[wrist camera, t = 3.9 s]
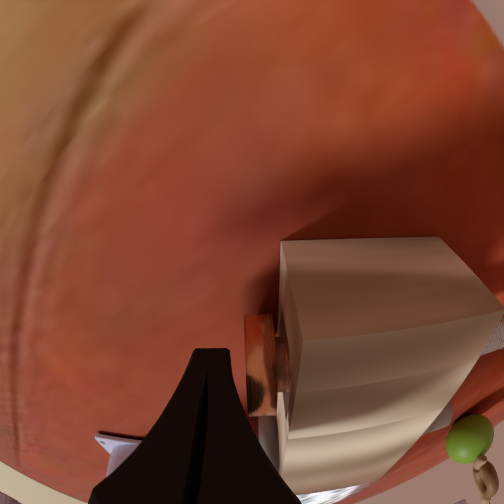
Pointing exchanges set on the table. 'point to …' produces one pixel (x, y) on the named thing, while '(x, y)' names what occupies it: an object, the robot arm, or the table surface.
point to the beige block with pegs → (370, 354)
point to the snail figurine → (474, 451)
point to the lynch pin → (287, 362)
